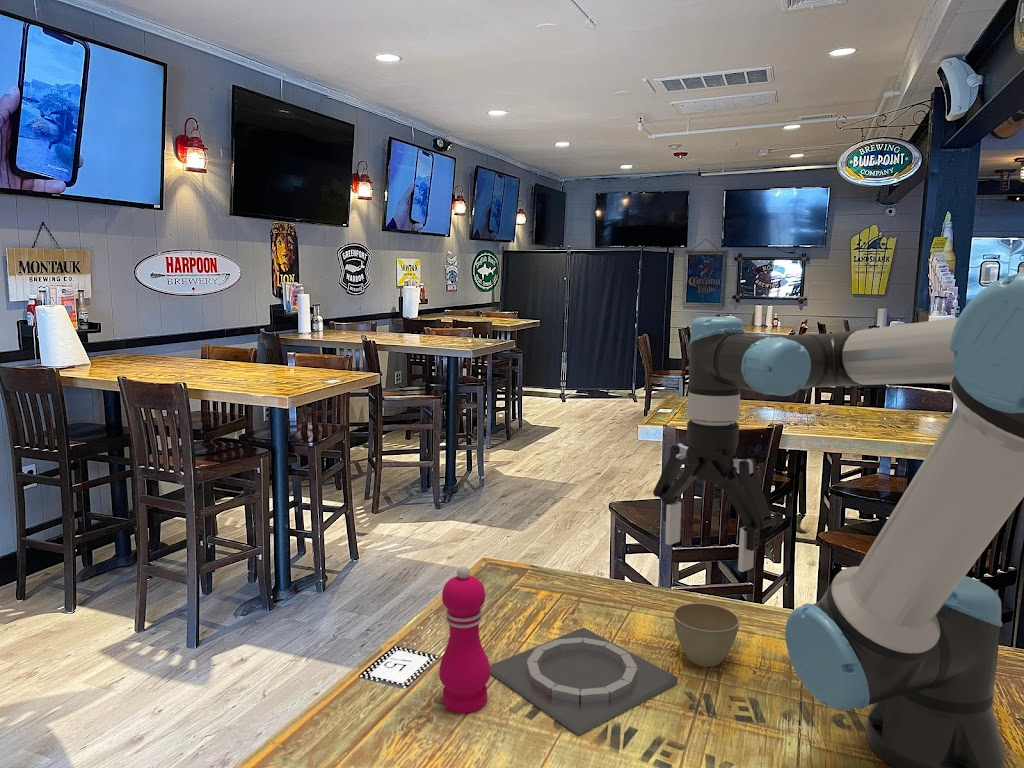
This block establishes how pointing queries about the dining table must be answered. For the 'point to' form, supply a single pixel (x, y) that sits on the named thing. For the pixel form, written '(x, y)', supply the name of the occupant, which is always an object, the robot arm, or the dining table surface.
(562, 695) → the ring plate
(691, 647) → the flower pot
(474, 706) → the pepper mill
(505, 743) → the dining table surface
